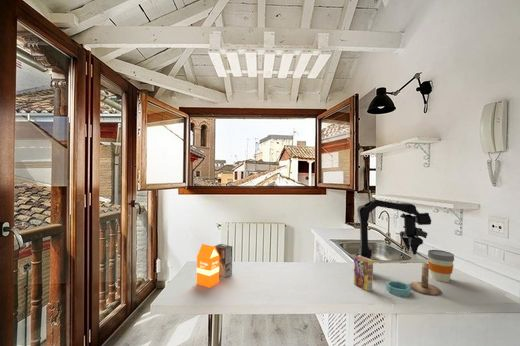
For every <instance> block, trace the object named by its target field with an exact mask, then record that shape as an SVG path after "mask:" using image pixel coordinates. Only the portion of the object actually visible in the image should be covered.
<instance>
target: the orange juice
mask: <svg viewBox="0 0 520 346" xmlns="http://www.w3.org/2000/svg"><path fill="white" fill-rule="evenodd" d="M214 246H215V245H209V244H204V243H202V244H201V247H200V248H199V251H198V252H197V254H196V255H197V256H196V284H197V285H199V284H200V286H202V285H203V286H202V287H205V286H206V288H212V287H213V286H215V285H217V284H218V283H219V284H220V276H219V254H218V252H217V250H216V248H215V247H214Z"/></svg>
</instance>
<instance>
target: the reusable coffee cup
mask: <svg viewBox="0 0 520 346" xmlns="http://www.w3.org/2000/svg"><path fill="white" fill-rule="evenodd" d="M454 261H455V254H454V253H451V252H449V251H446V250H440V249H429V250H428V252H427V264H429V275H430V278H431V279H432V280H435V281H437V282H442V283H443V282H444V283H448V282H450V281H451V275H452V273H453V271H454Z"/></svg>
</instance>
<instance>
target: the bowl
mask: <svg viewBox="0 0 520 346" xmlns="http://www.w3.org/2000/svg"><path fill="white" fill-rule="evenodd" d="M408 285H409V284H407V283H404V282H401V281H396V280H395V281H392V280H390V281H388V282H386V291H387V292H388V293H389V294H391V295H394V296H396V297H406V298H407V297H409V296H410V295H411V291H412V290H411V288H410V287H409V286H408Z"/></svg>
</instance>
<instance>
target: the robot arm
mask: <svg viewBox="0 0 520 346" xmlns="http://www.w3.org/2000/svg"><path fill="white" fill-rule="evenodd" d="M378 207H380V208H386V209H390V210H391V209H392V210H397V211H400V212H402V214H401V215H400V216H399V217H400V218H402V219H403V224H404V225H403V229H404V230H402V231H400V232H399V236H400V238H401V240H402V242H403V244H404V246H405V248H406V250H411V252H412V254H413V255H415V256H416V255H417V251H418V249H419V247H420V246H422V245H423V244H424V239H427V237H428V234H429V233H428V232H427V231H424V230H423V229H422V228H421V227H417V225H418V226H430V225H431V224H432V219H431V216H430V213H428V212H419V211H418V210H417V207H416V205H415V204H413V203H410V202H392V201H387V200H381V199H376V198H373V199H372V200H370V201H368V202H366V203H365V204H363V205H358V206H357V216H358V219H359V230H360V231H359V232H360V235H359V237H360V238H359V239H360V245H359V248H358V253H356V254H355V256H358V255H360V256H363V257H366V258H368V259H371V260H372V257H373V254H372V251H373V250H372V249H371V247H370V246H369V234H368V233H369V232H368V230H369V229H368V221H369V219H370V213H371V212H373V211H374V210H375V209H376V208H378ZM416 224H417V225H416ZM422 238H424V239H422ZM353 271H355V268H354V269H353Z"/></svg>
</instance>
